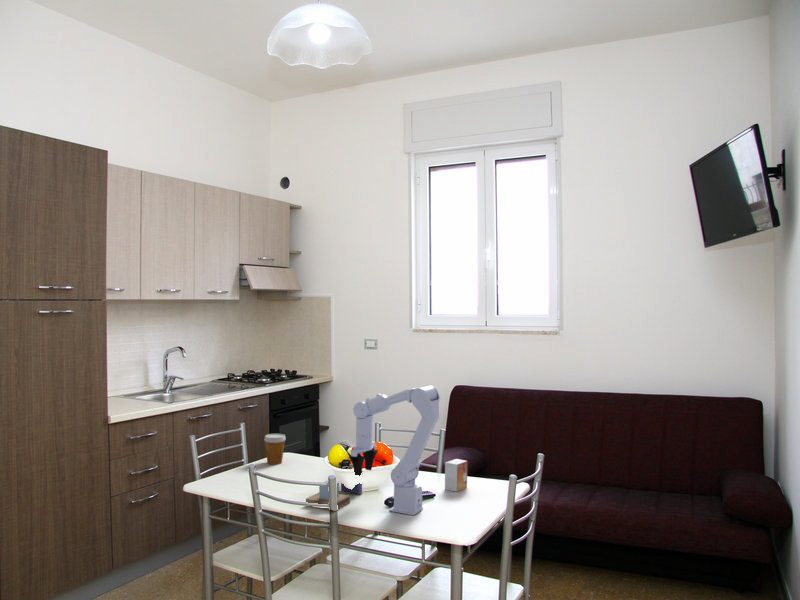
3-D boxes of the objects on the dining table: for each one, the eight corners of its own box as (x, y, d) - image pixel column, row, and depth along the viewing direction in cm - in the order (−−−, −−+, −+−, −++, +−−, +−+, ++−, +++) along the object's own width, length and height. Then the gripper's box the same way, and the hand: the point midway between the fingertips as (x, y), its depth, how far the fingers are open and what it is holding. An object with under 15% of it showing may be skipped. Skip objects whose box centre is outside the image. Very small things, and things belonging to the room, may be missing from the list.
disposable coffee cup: (285, 465, 268) (285, 437, 268) (262, 465, 266) (263, 438, 267) (286, 459, 277) (286, 433, 277) (264, 460, 276) (264, 433, 276)
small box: (456, 492, 234) (457, 464, 234) (444, 489, 237) (444, 462, 237) (467, 487, 240) (467, 460, 240) (455, 484, 244) (455, 458, 244)
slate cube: (338, 496, 218) (339, 482, 218) (331, 500, 214) (331, 486, 214) (326, 494, 220) (327, 480, 220) (319, 498, 216) (319, 484, 216)
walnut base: (349, 503, 219) (350, 496, 219) (335, 511, 210) (335, 504, 210) (321, 497, 224) (321, 491, 224) (305, 505, 215) (305, 498, 215)
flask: (363, 493, 230) (363, 464, 230) (358, 495, 228) (359, 466, 228) (343, 489, 235) (343, 461, 235) (338, 491, 233) (339, 463, 233)
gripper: (364, 429, 230) (363, 466, 230) (343, 437, 217) (343, 475, 217) (380, 431, 227) (380, 468, 227) (361, 439, 214) (360, 478, 213)
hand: (363, 472), depth 221 cm, fingers open, 7 cm apart
